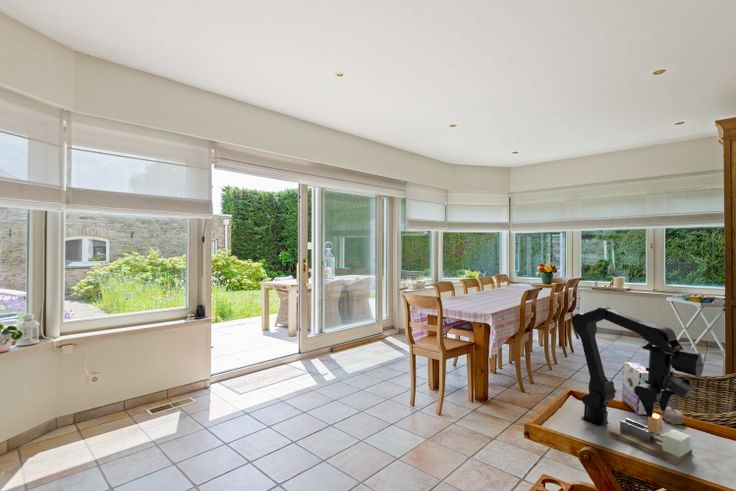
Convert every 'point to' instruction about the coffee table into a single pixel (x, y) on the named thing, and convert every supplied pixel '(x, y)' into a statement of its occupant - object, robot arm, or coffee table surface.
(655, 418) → the slip rod
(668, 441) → the socket block
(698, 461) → the coffee table surface
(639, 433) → the channel
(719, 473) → the coffee table surface
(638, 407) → the candy box
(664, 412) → the garlic bulb
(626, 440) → the base board
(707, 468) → the coffee table surface
